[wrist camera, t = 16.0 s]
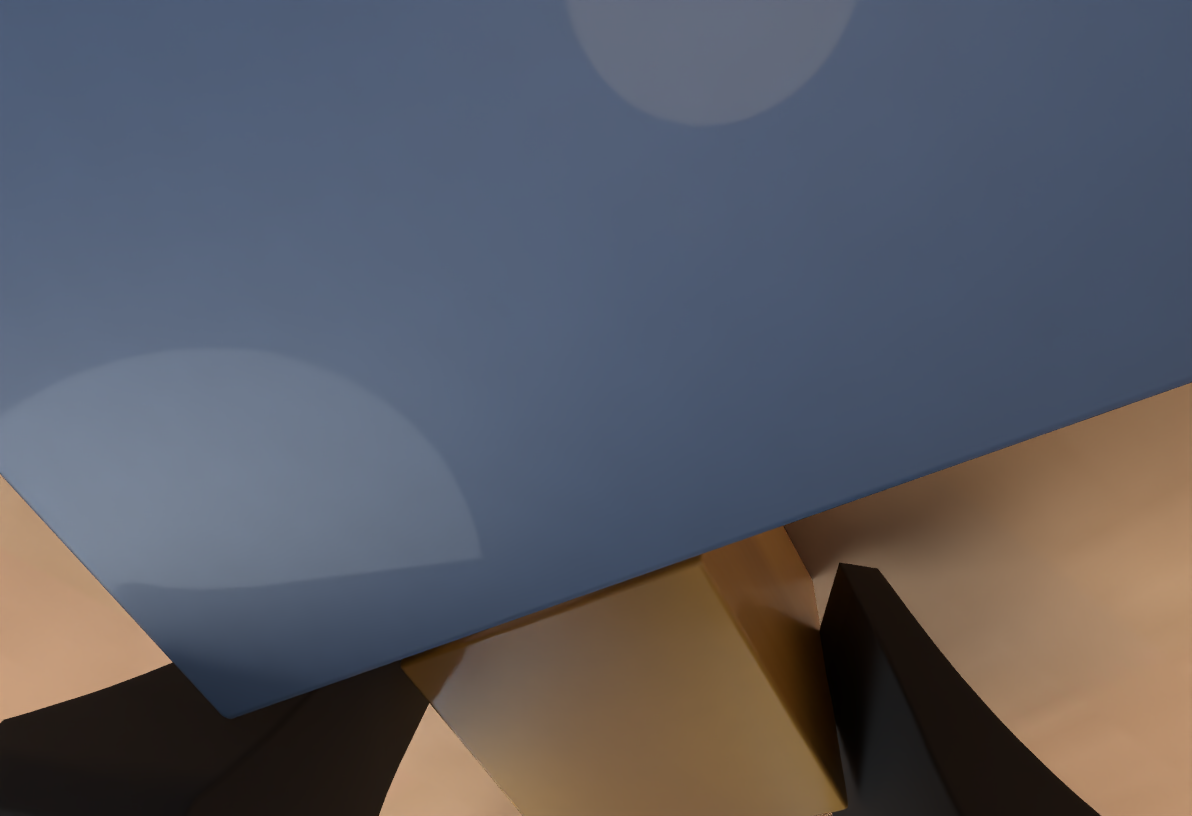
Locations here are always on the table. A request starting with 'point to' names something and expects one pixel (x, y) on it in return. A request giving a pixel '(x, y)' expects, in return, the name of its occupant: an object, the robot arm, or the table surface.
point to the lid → (550, 288)
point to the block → (654, 694)
